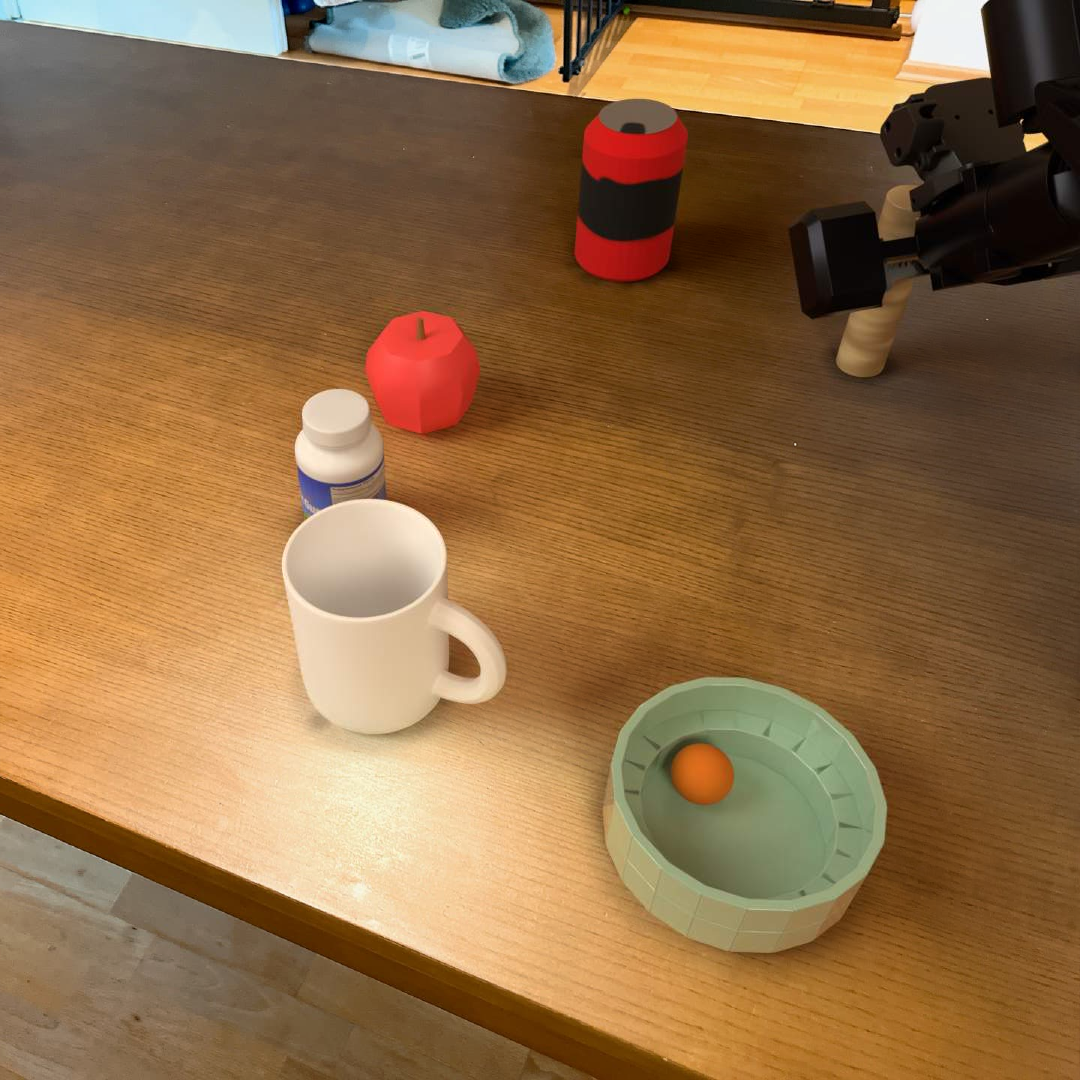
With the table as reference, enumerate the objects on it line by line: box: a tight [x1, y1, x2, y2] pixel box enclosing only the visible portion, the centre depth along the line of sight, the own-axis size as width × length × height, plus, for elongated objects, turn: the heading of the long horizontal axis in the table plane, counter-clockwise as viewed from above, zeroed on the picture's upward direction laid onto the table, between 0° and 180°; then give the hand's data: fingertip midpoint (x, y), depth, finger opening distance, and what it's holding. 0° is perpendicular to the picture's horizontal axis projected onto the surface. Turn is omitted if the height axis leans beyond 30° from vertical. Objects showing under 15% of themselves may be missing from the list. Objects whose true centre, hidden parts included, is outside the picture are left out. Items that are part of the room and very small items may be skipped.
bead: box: [671, 743, 734, 805], centre depth 53 cm, size 3×3×3 cm
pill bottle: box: [294, 388, 387, 521], centre depth 66 cm, size 5×5×10 cm
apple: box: [364, 310, 482, 435], centre depth 73 cm, size 8×8×8 cm
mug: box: [281, 499, 508, 735], centre depth 56 cm, size 12×8×10 cm
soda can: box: [574, 98, 689, 283], centre depth 83 cm, size 8×8×12 cm
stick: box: [835, 184, 921, 378], centre depth 72 cm, size 3×3×13 cm
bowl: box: [602, 676, 888, 954], centre depth 51 cm, size 12×12×5 cm
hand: (875, 273), depth 73 cm, fingers open, 7 cm apart
